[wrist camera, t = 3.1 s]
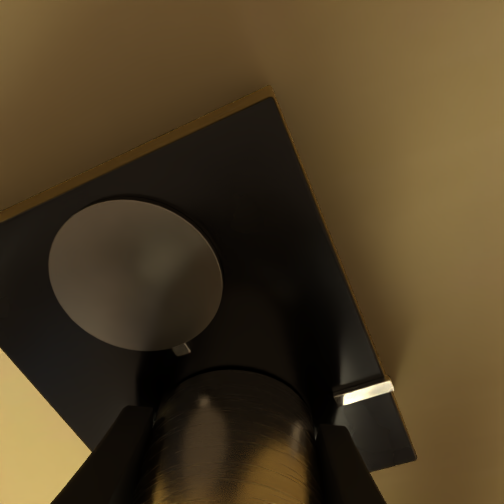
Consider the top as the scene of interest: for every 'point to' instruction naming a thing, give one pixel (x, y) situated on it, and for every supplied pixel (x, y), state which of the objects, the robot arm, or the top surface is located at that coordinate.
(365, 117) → the top surface
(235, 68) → the top surface
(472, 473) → the top surface
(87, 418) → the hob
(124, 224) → the disc
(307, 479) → the knob
